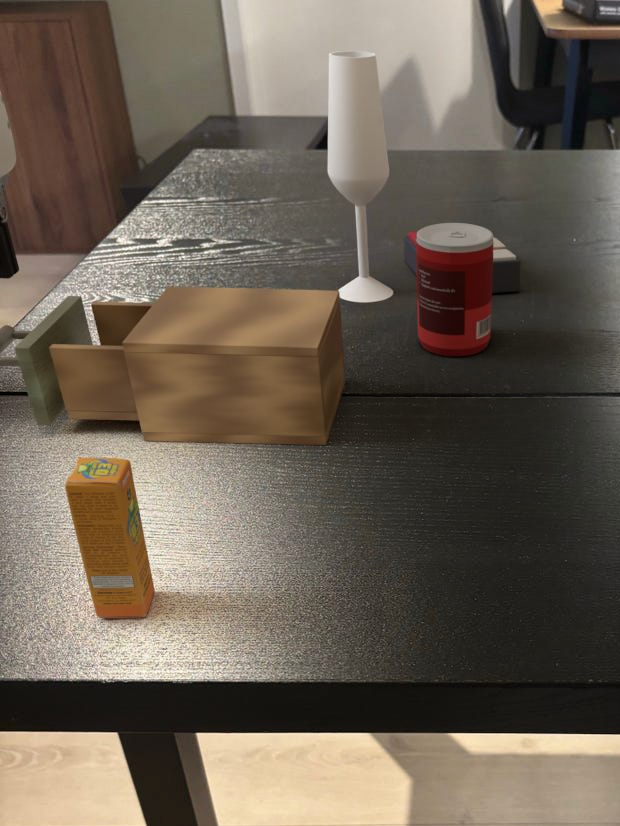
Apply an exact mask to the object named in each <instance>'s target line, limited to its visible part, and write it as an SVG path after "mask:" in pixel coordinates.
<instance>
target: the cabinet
mask: <svg viewBox="0 0 620 826" xmlns="http://www.w3.org/2000/svg"><path fill="white" fill-rule="evenodd" d="M153 303H154V304H153V305H152V307H151V308H150V309H149V310H148V312H147V313H146V314H145V315H144V316H143V318H142V319H141V320H140V321H139V323H138V324H137V325H136V326H135V328H134V329H133V330H132V331H131V332H130V334H129V335H128V336H127V337H126V339H125V340H124V341H123V342H122V344H123V349H124V354H125V358H126V363H127V367H128V372H129V376H130V381H131V385H132V390H133V394H134V399H135V403H136V408H137V412H138V417H139V426H140V430H141V434H142V439H143V441H144V442H180V443H181V442H182V443H218V444H219V443H220V444H221V443H224V444H257V445H259V444H262V445H265V444H266V445H299V446H301V445H302V446H327V444H328V440H329V437H330V434H331V430H332V427H333V424H334V421H335V417H336V414H337V411H338V407H339V404H340V400H341V398H342V393H343V390H344V387H345V383H346V380H347V379H346V366H345V353H344V339H343V338H344V337H343V325H342V312H341V311H342V310H341V298H340V294H339V291H338V290H329V289H328V290H324V289H323V290H322V289H288V288H287V289H285V288H284V289H283V288H252V287H251V288H250V287H249V288H247V287H246V288H245V287H209V286H174V285H171V286H170V285H168V286H167V287H166V288H165V290H164V291H163V292H162V293H161V294H160V296H159V297H158V298H157V299H156V300H155V302H153Z"/></svg>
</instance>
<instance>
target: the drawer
mask: <svg viewBox="0 0 620 826" xmlns="http://www.w3.org/2000/svg"><path fill="white" fill-rule="evenodd" d="M154 303H155V302H132V301H130V302H128V301H97V300H95V301H93V302H92V303H91V304H90V307H91V311H92V315H93V319H94V323H95V328H96V332H97V335H98V340H99V344H100V345H99V344H97V345H96V344H93V340H92V334H91V332H90V327H89V322H88V319H87V315H86V311H85V307H84V302H83V299H82V296H81V295H67V296H66V297H65V298H64V299H63V301H61V302H60V303H59V304H57V306H56V307H55V308H53V310H52V311H51V312H50V313H49V314H48V315H46V317H44V318H43V319H42V320H41V321H40V322H39V323H38V324H37V325H36V326H35V327H34V328H33V329H32V330H16V328H14V327H13V326H11V325H8V324H4V325H3V326H1V328H0V354H2V352H4V351H5V350H6V349H7V348H8V347H9V346H10V345H11V344H12V343H13V342H14V341H15V340H20V342H18V343H17V344H16V346H14V347H13V349H14V353H15V355H16V356H9V357H8V356H0V367H19V369H20V372H21V375H22V379H23V382H24V385H25V386H24V387H25V389H26V393H27V395H28V400H29V402H30V406H31V409H32V413H33V416H34V419H35V421H36V422H35V423H36V426H52V425H53V423H54V422H55V421H56V420H57V419H58V417H59V416H61V414H62V413H63V412H64V410H66V414H67V417H68V419H69V420H100V421H103V420H104V421H137V422H138V421H139V417H138V412H137V408H136V403H135V399H134V394H133V390H132V385H131V381H130V376H129V372H128V367H127V363H126V358H125V354H124V349H123V344H122V342H123V341H124V340H125V339H126V337H127V336H128V335H129V334H130V332H131V331H132V330H133V329H134V328H135V326H136V325H137V324H138V323H139V321H140V320H141V319H142V318H143V316H144V315H145V314H146V313H147V312H148V310H149V309H150V308H151V307H152V305H153V304H154ZM139 422H140V421H139Z"/></svg>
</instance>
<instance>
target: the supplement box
mask: <svg viewBox="0 0 620 826" xmlns="http://www.w3.org/2000/svg"><path fill="white" fill-rule="evenodd" d="M133 474H134V473H133V469H132V464H131V461H130V460H129V459H125V458H117V457H116V458H115V457H78V458H77V460H76V465H75V468H74V469H73V470H72V472H71V475H69V476H68V477H67V479H65V482H64V488H65V489H64V490H65V493H66V498H67V502H68V506H69V511H70V515H71V519H72V524H73V527H74V532H75V536H76V540H77V545H78V548H79V552H80V556H81V561H82V565H83V569H84V573H85V576H86V581H87V585H88V589H89V593H90V596H91V601H92V604H93V608H94V611H95V615H96V617H98V618H99V619H132V618H133V619H134V618H135V619H136V618H145V617H147V615H148V612H149V610H150V606H151V603H152V600H153V597H154V593H155V586H154V580H153V574H152V569H151V564H150V559H149V554H148V547H147V544H146V539H145V533H144V527H143V523H142V517H141V511H140V506H139V502H138V496H137V491H136V486H135V481H134V475H133Z"/></svg>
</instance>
